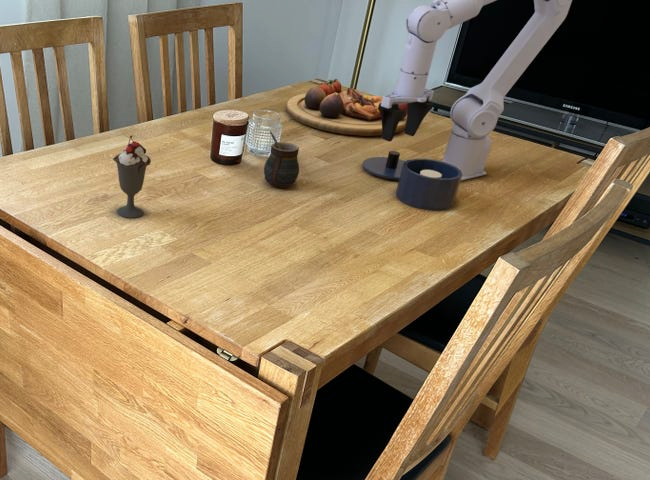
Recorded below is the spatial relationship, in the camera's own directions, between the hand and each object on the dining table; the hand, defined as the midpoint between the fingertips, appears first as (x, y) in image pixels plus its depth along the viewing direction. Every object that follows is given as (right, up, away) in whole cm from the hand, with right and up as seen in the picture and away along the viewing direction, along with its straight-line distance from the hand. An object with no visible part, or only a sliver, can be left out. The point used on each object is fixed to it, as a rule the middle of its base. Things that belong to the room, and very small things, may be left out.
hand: (398, 137), depth 156 cm
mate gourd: (-26, -12, -6) cm, 29 cm away
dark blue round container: (+3, -15, -7) cm, 17 cm away
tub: (+3, -14, -7) cm, 17 cm away
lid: (0, -6, +4) cm, 7 cm away
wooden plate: (-3, +16, +35) cm, 39 cm away
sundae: (-56, -21, -22) cm, 64 cm away
